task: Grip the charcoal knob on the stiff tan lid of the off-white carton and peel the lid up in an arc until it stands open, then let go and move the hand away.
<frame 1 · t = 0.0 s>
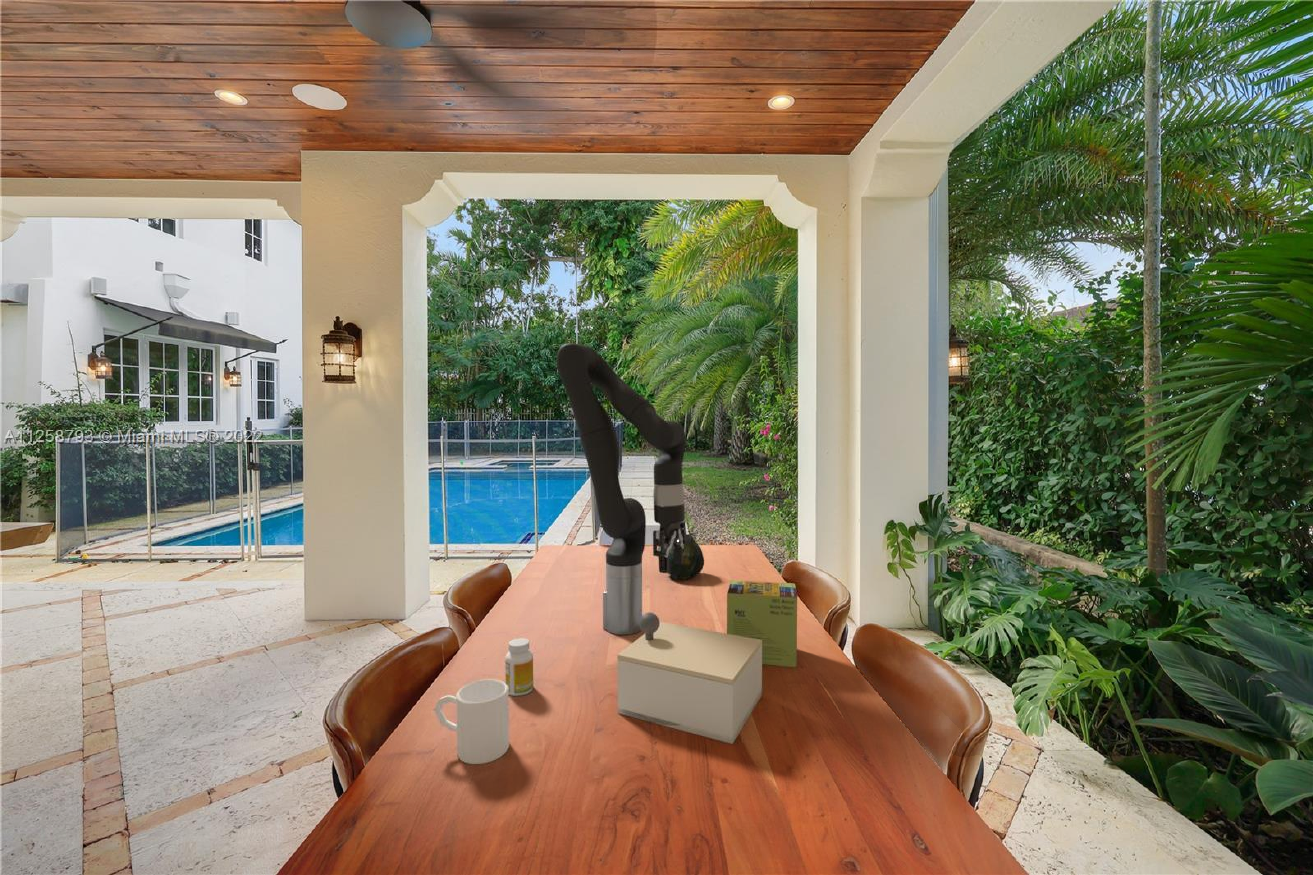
hand: (671, 568, 136), 17 cm above the table, tool pointing down, fingers open, 8 cm apart
supplement bottle: (519, 690, 110), on the table
squash: (682, 577, 188), on the table
lid: (691, 635, 104), point 13 cm above the table, hinge at 0.0°
mug: (471, 750, 91), on the table
carton: (692, 703, 105), on the table
protein box: (761, 655, 126), on the table
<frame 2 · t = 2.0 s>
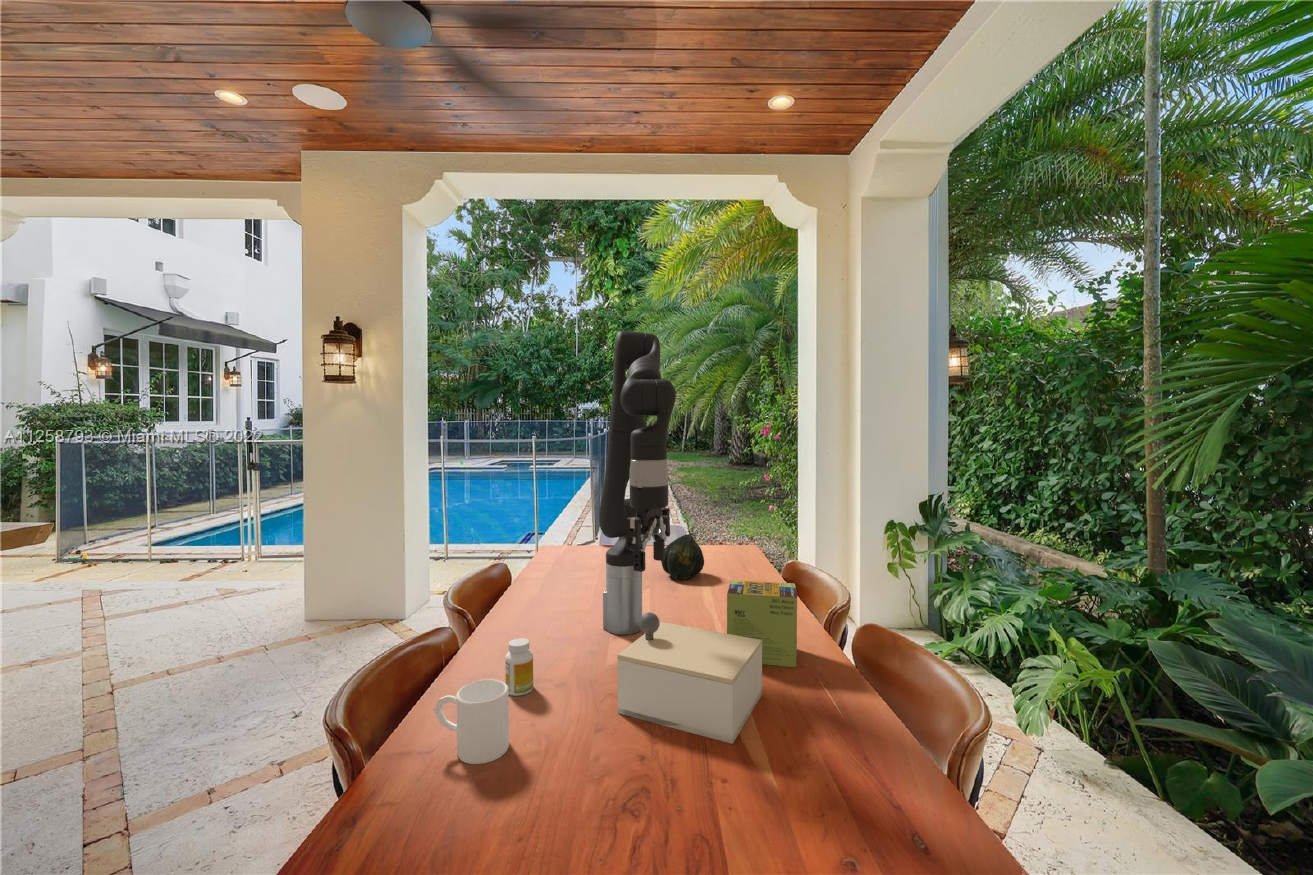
hand: (649, 565, 108), 25 cm above the table, tool pointing down, fingers open, 8 cm apart
nothing on the table moved.
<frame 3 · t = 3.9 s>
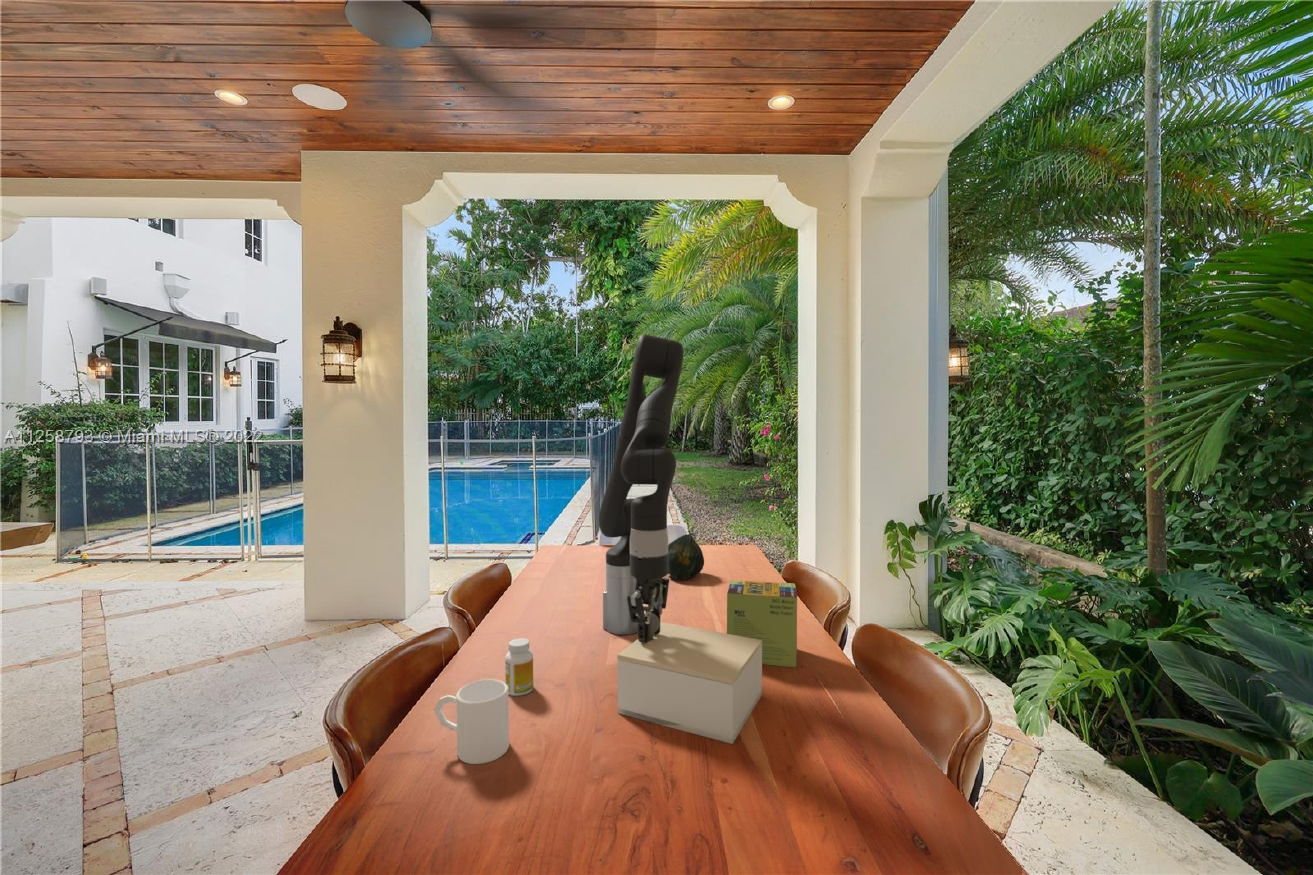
hand: (649, 637, 108), 11 cm above the table, tool pointing down, fingers closed on lid, 4 cm apart
lid: (691, 635, 104), point 13 cm above the table, hinge at 0.0°, touching gripper
everything else where it was.
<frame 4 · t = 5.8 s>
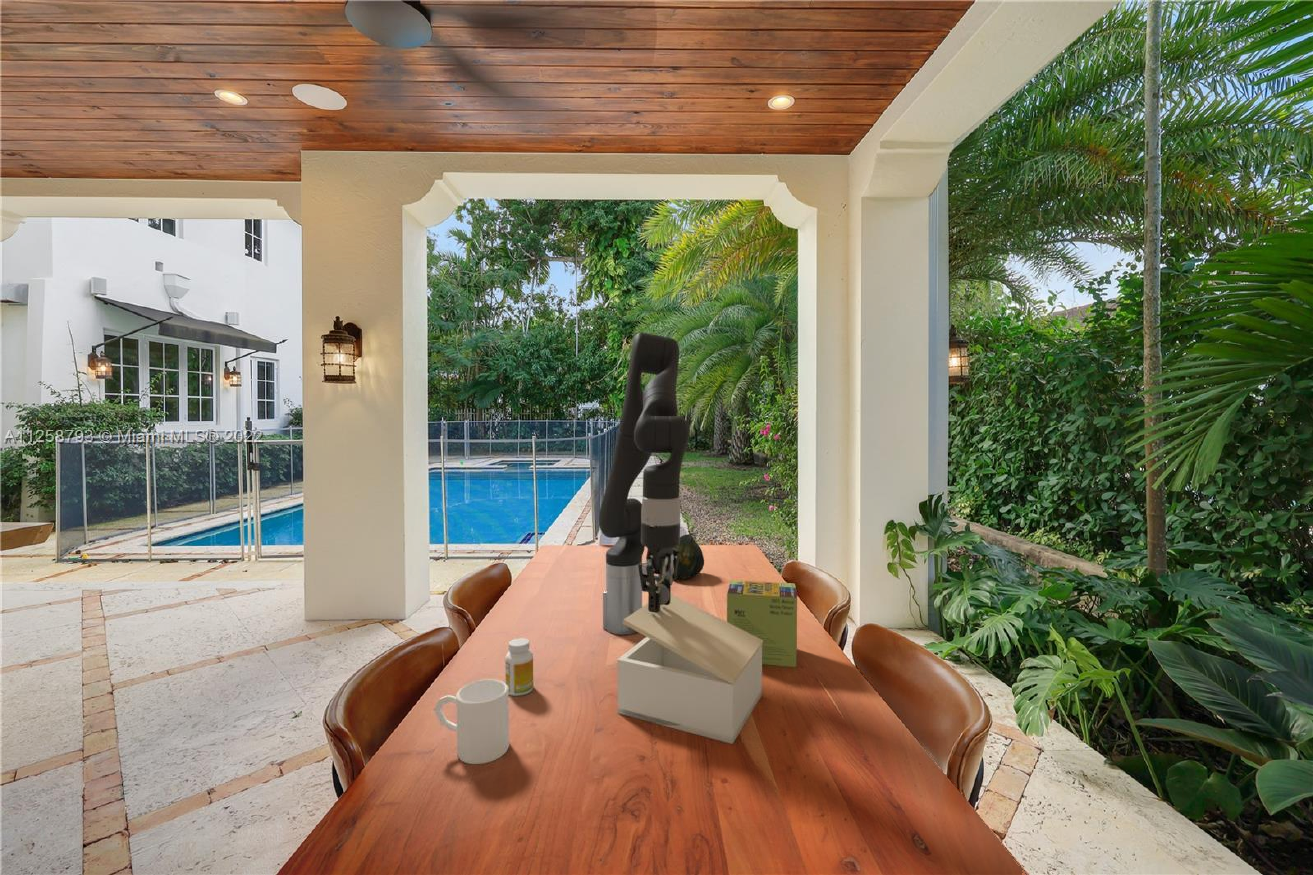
hand: (659, 607, 107), 17 cm above the table, tool pointing down, fingers closed on lid, 4 cm apart
lid: (699, 620, 103), point 16 cm above the table, hinge at 18.0°, touching gripper
everything else where it was.
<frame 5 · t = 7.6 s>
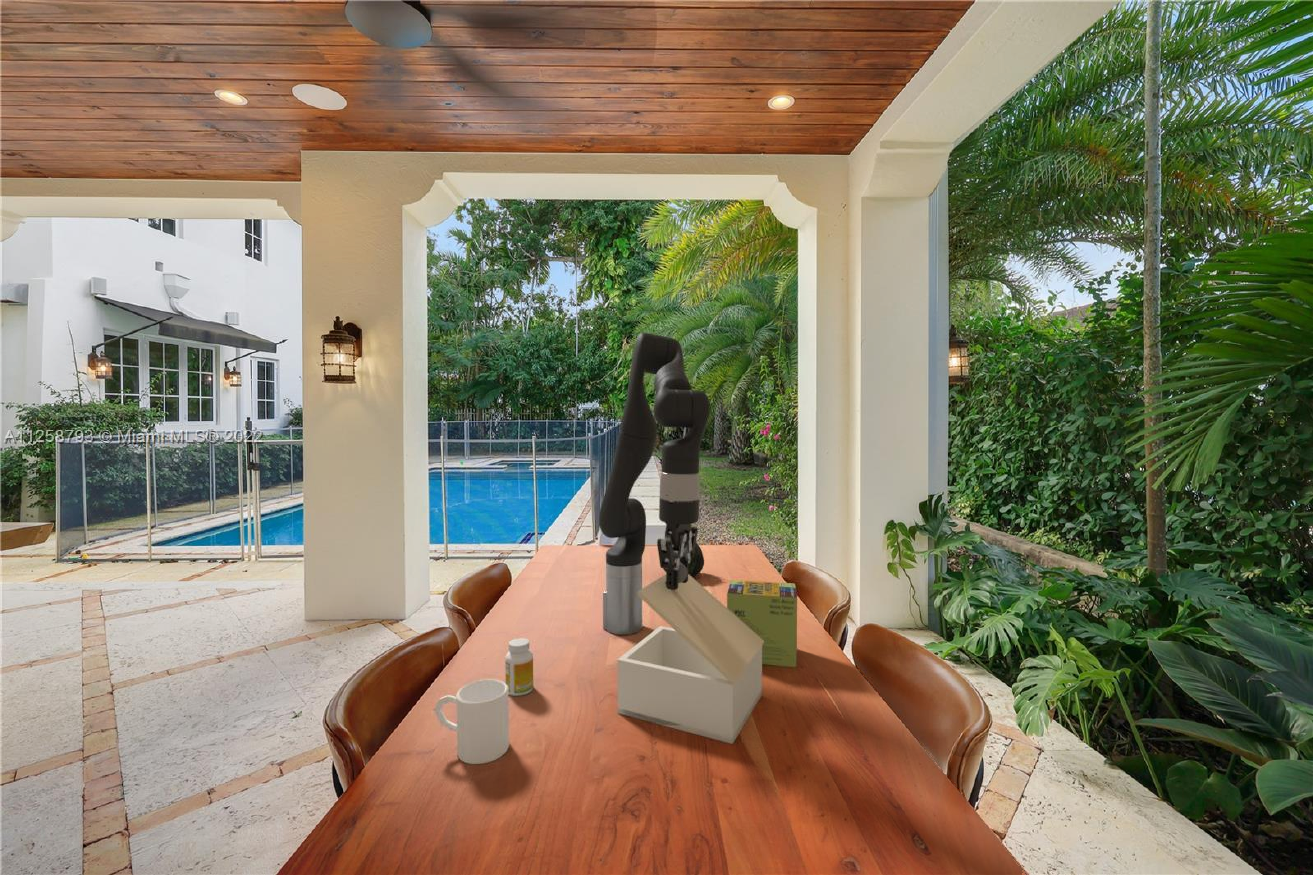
hand: (677, 585, 105), 22 cm above the table, tool pointing down, fingers closed on lid, 4 cm apart
lid: (710, 608, 102), point 19 cm above the table, hinge at 35.0°, touching gripper
everything else where it was.
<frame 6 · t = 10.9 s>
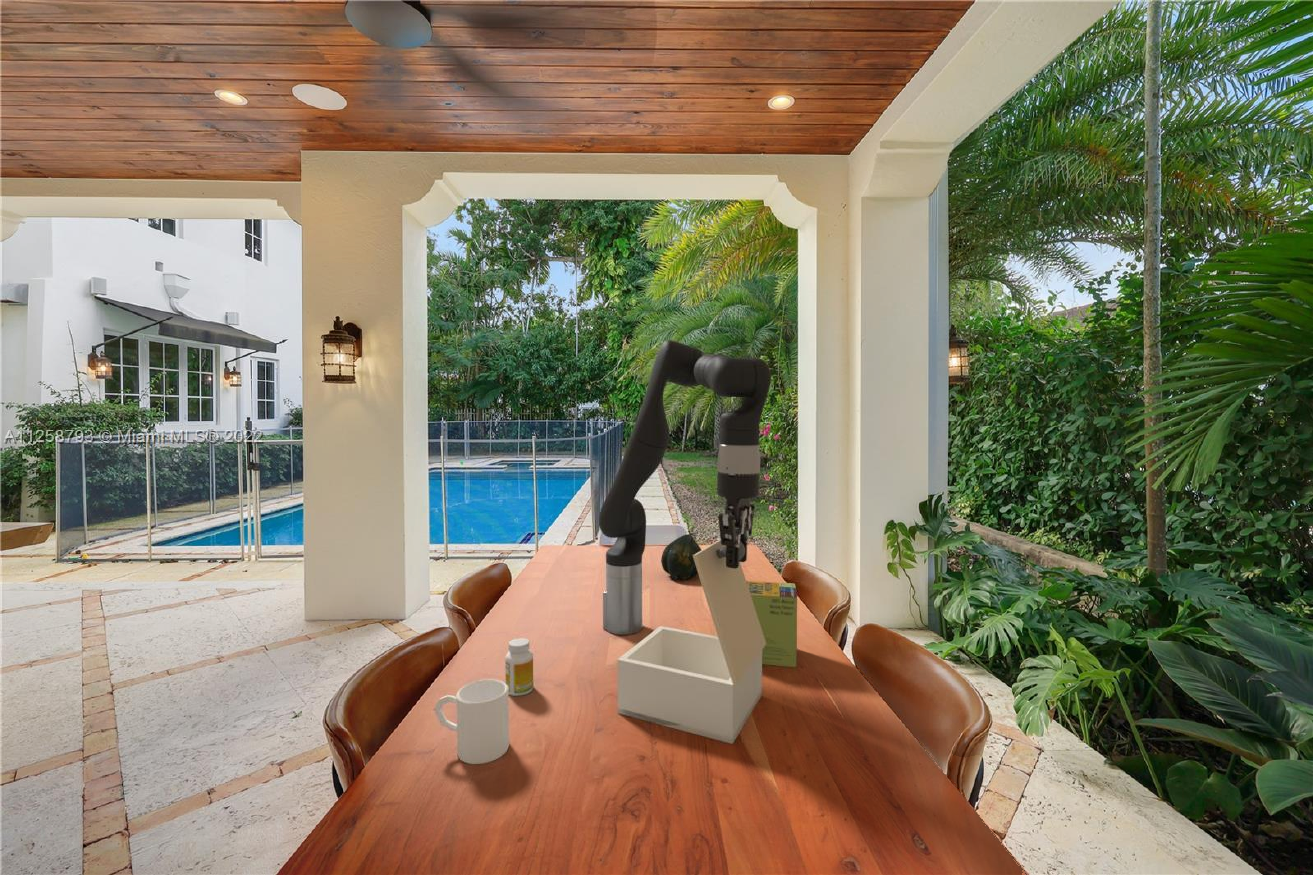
hand: (736, 563, 100), 28 cm above the table, tool pointing down, fingers closed on lid, 4 cm apart
lid: (744, 600, 99), point 21 cm above the table, hinge at 70.8°, touching gripper
everything else where it was.
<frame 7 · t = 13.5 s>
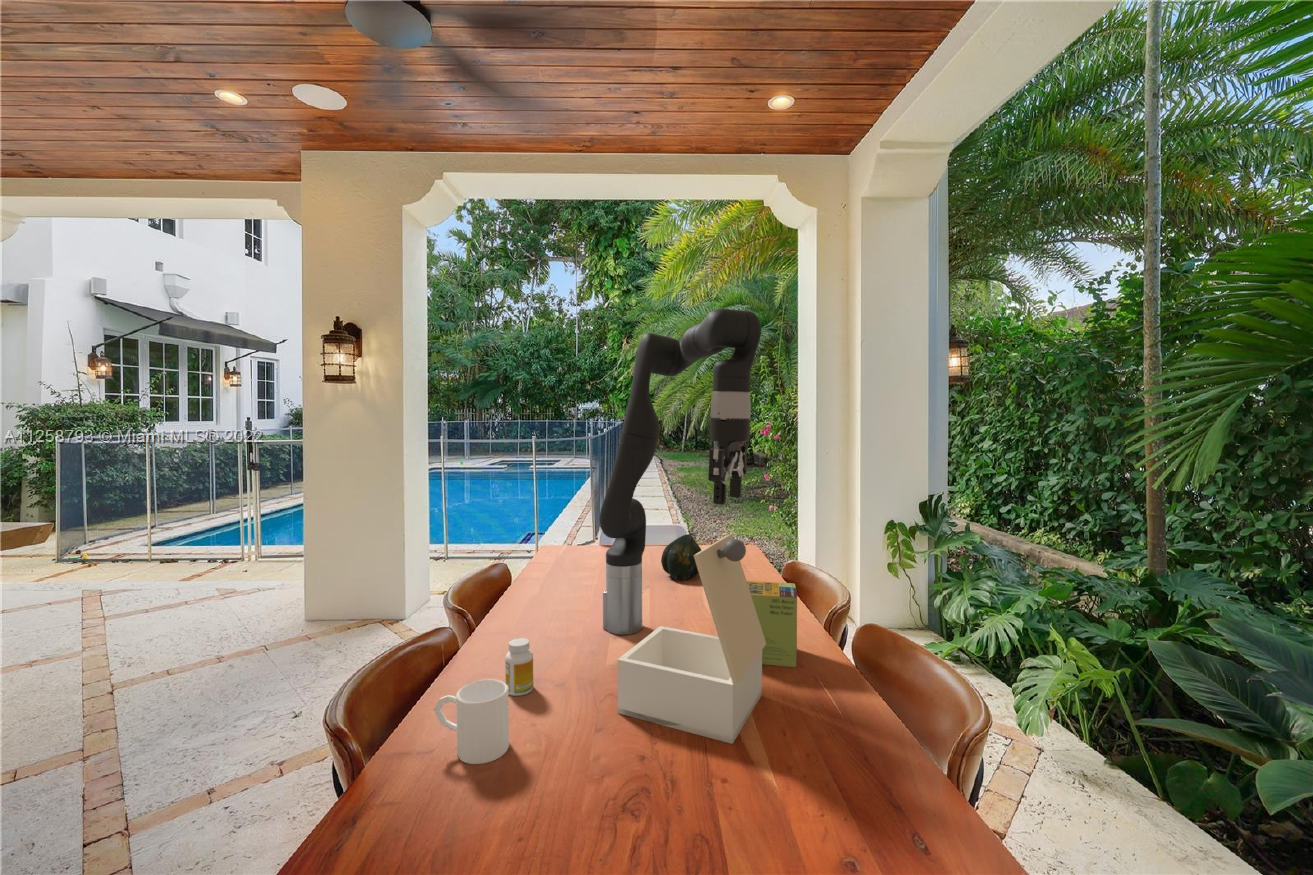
hand: (727, 500, 106), 38 cm above the table, tool pointing down, fingers open, 8 cm apart
lid: (745, 600, 99), point 21 cm above the table, hinge at 71.3°
everything else where it was.
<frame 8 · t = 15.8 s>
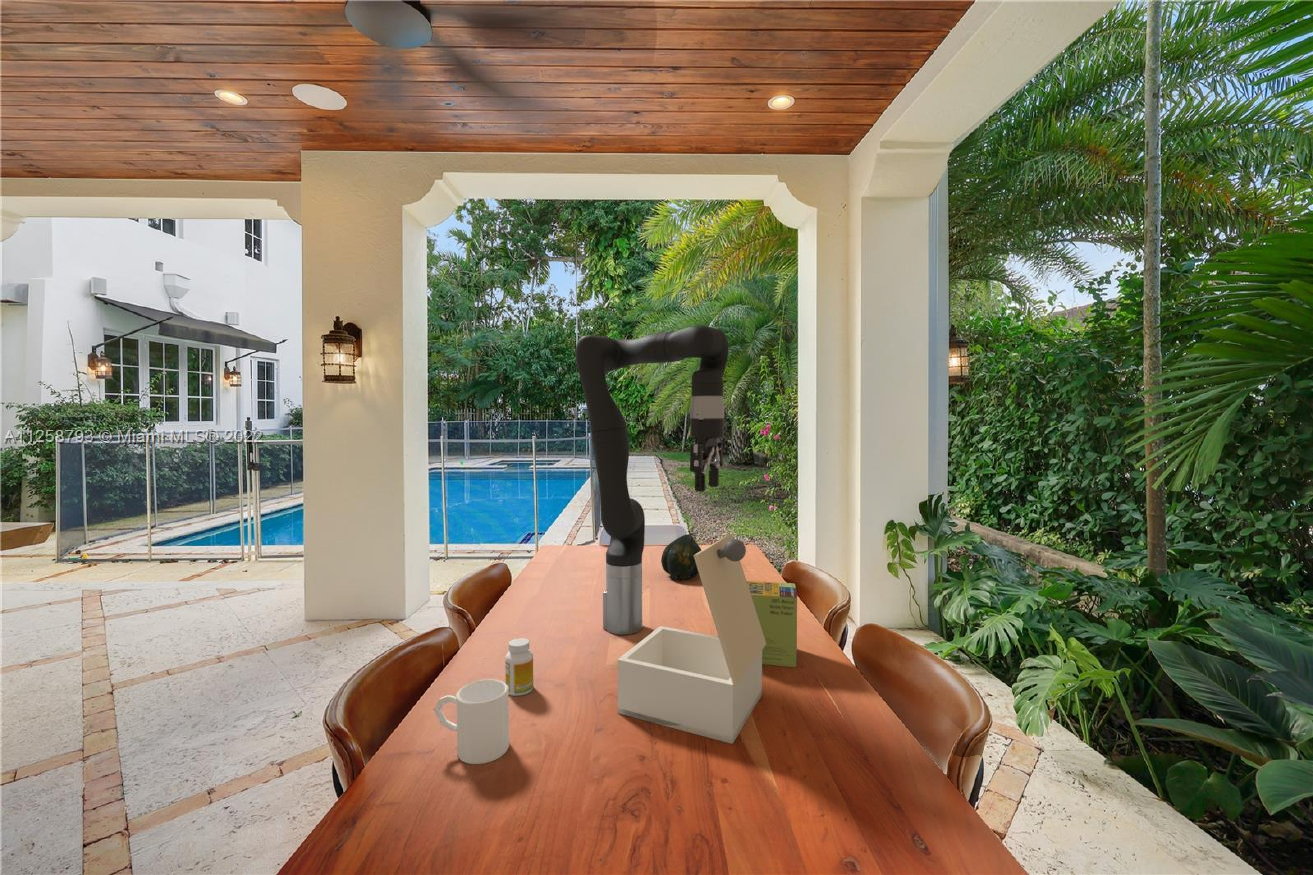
hand: (707, 488, 124), 38 cm above the table, tool pointing down, fingers open, 8 cm apart
nothing on the table moved.
at the end: lid at +71° (first picture: +0°); the gripper is holding nothing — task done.
